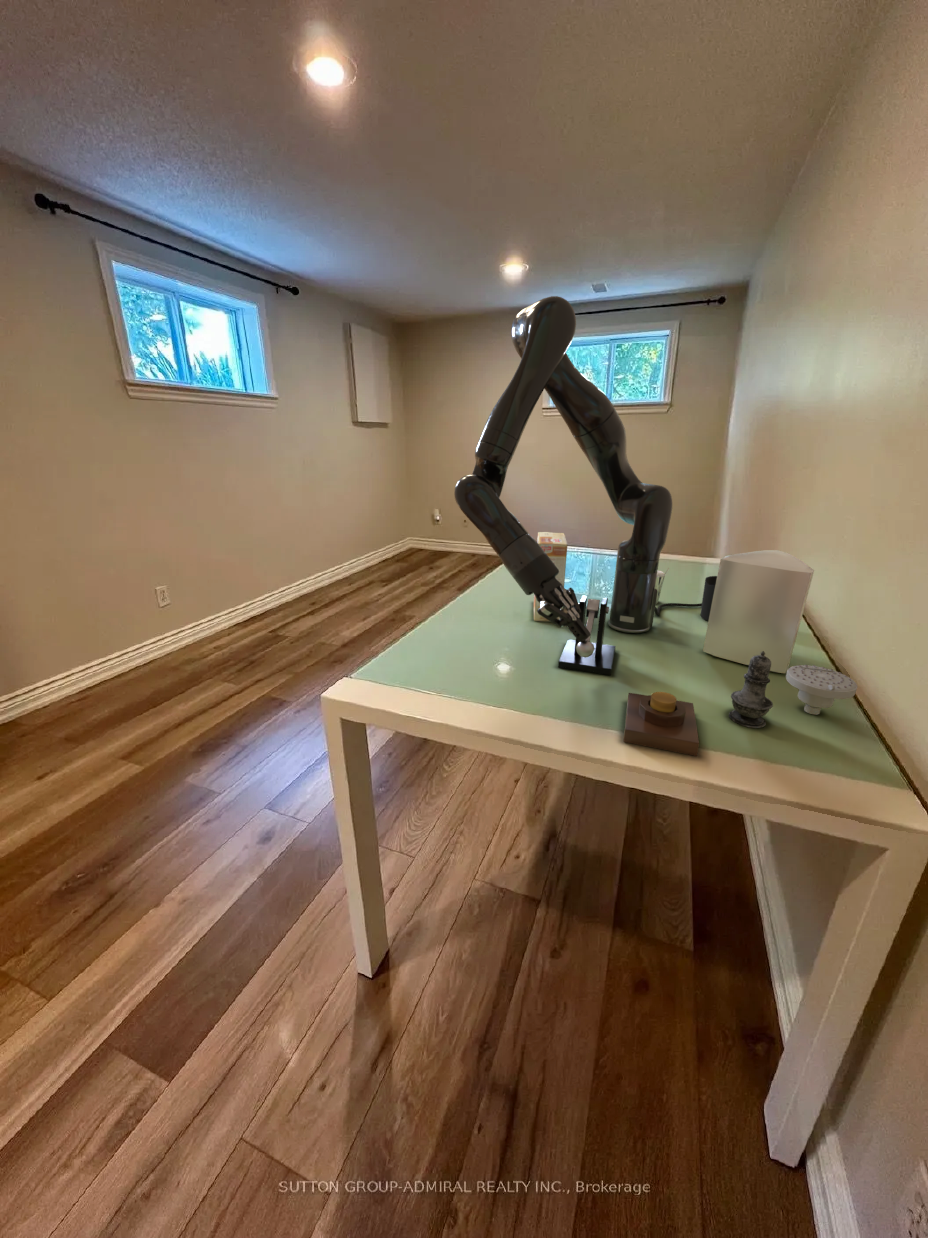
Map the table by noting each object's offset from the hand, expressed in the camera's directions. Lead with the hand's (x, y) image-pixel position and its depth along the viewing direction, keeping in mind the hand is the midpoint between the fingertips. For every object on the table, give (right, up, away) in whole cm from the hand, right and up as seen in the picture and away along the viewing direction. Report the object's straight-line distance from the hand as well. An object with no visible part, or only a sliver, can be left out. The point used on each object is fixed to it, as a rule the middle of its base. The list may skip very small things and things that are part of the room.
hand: (585, 638), depth 89 cm
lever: (+2, +1, +5) cm, 5 cm away
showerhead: (+36, -12, -8) cm, 38 cm away
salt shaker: (+23, -13, -10) cm, 29 cm away
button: (+8, -10, -14) cm, 19 cm away
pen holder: (+42, +3, +34) cm, 54 cm away
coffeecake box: (-1, +5, +38) cm, 38 cm away
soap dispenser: (+38, -4, +14) cm, 41 cm away
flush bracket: (+3, -5, +11) cm, 12 cm away
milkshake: (+30, +8, +47) cm, 56 cm away
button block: (+8, -13, -13) cm, 20 cm away
